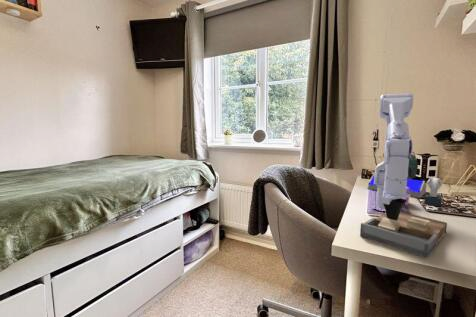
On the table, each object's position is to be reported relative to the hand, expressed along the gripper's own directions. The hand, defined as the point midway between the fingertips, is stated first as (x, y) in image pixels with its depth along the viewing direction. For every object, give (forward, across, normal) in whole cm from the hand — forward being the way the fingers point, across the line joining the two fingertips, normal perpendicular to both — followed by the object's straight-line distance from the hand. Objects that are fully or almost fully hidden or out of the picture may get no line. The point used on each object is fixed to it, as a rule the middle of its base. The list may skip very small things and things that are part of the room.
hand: (392, 221), depth 78 cm
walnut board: (+4, +7, -3) cm, 8 cm away
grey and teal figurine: (+4, +44, -1) cm, 44 cm away
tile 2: (+1, +3, -6) cm, 7 cm away
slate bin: (+4, -5, -3) cm, 7 cm away
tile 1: (+2, -3, 0) cm, 3 cm away
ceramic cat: (+4, +90, +26) cm, 94 cm away
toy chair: (+4, +34, +10) cm, 35 cm away
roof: (+4, +55, +16) cm, 57 cm away
